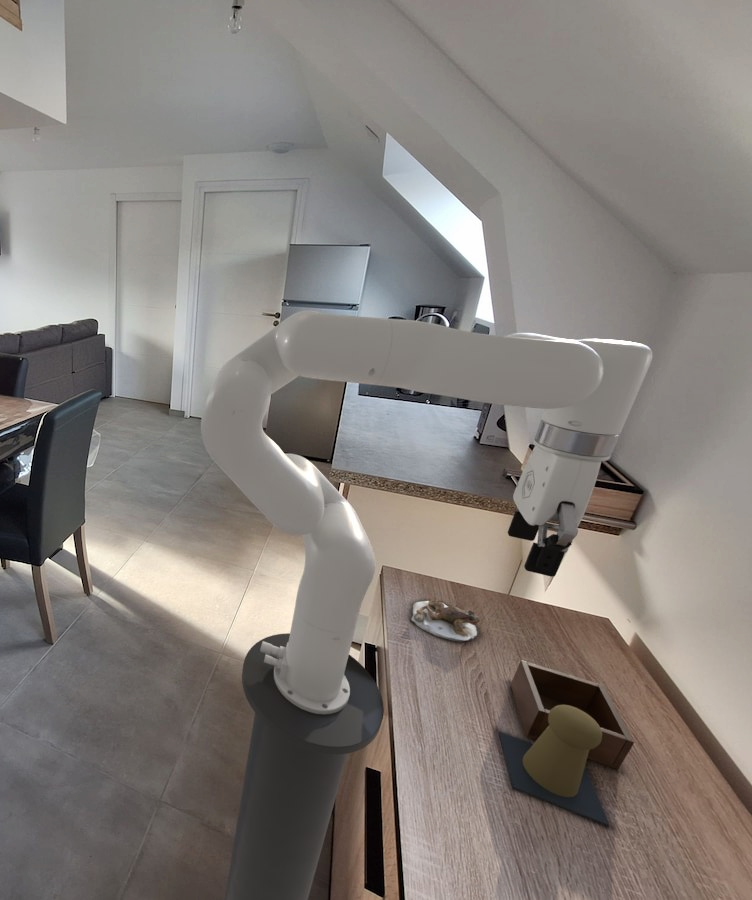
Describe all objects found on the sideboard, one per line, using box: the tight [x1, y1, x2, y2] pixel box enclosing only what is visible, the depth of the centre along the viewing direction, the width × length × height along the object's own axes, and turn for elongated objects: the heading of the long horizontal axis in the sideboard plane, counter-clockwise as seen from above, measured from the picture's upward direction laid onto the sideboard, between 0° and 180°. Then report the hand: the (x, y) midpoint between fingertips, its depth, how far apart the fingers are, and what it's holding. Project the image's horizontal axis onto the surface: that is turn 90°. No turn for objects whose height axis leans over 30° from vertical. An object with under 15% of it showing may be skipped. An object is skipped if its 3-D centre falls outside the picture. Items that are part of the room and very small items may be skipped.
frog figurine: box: [410, 597, 481, 642], centre depth 91 cm, size 12×12×4 cm
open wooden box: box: [510, 659, 635, 770], centre depth 69 cm, size 11×11×6 cm
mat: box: [498, 731, 610, 827], centre depth 63 cm, size 10×9×1 cm
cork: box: [523, 705, 602, 797], centre depth 61 cm, size 6×6×11 cm
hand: (528, 554), depth 63 cm, fingers open, 9 cm apart
